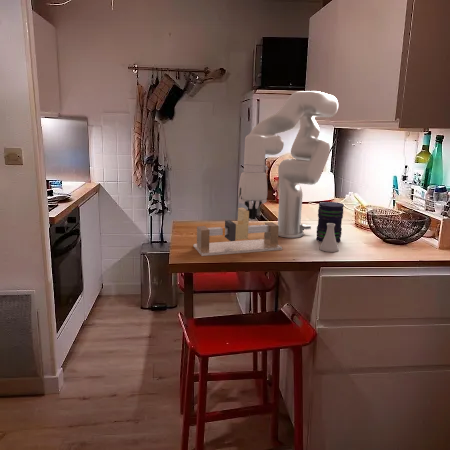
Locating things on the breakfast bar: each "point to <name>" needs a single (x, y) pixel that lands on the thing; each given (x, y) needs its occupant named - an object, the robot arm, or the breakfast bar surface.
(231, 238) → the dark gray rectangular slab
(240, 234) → the wooden block
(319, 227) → the storage jar
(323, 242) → the flask
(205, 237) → the pipe rig
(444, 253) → the breakfast bar surface
